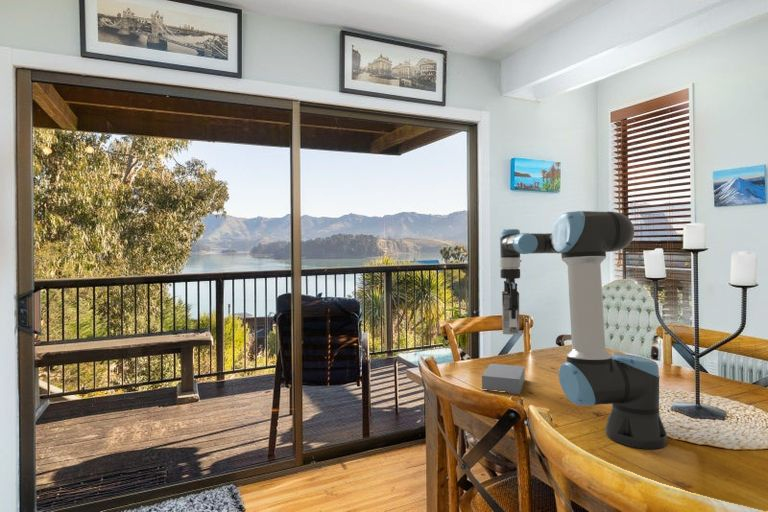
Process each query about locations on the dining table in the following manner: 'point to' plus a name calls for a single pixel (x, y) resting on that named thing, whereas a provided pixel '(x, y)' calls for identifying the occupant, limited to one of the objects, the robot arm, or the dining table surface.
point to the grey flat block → (504, 378)
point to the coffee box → (505, 315)
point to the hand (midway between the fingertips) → (510, 324)
